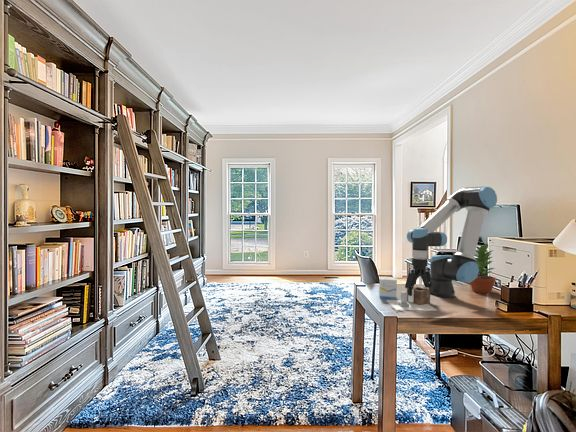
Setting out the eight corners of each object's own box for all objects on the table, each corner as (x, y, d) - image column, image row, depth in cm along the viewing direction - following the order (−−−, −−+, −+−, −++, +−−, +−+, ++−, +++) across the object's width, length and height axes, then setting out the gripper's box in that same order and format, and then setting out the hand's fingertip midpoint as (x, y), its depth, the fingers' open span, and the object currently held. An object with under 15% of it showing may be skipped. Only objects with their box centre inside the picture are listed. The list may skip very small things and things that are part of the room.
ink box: (396, 302, 187) (397, 280, 186) (379, 300, 188) (380, 279, 188) (394, 298, 195) (395, 277, 195) (379, 296, 197) (379, 276, 196)
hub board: (422, 302, 186) (423, 287, 186) (437, 312, 168) (438, 296, 168) (385, 302, 186) (385, 286, 186) (396, 312, 168) (396, 295, 168)
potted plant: (479, 287, 227) (480, 241, 226) (500, 293, 212) (502, 243, 212) (461, 289, 221) (463, 241, 221) (482, 294, 207) (484, 244, 206)
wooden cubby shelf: (417, 299, 188) (417, 285, 187) (429, 303, 181) (430, 288, 181) (406, 301, 184) (407, 286, 183) (419, 305, 177) (420, 290, 176)
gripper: (428, 256, 191) (426, 296, 191) (398, 258, 179) (397, 301, 179) (440, 257, 184) (439, 299, 185) (410, 260, 172) (408, 305, 173)
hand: (418, 300), depth 182 cm, fingers open, 11 cm apart
